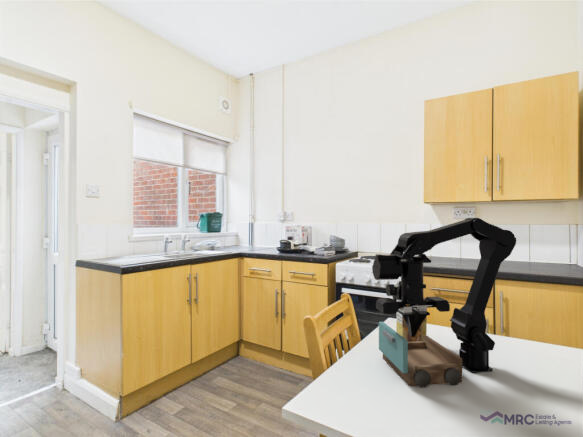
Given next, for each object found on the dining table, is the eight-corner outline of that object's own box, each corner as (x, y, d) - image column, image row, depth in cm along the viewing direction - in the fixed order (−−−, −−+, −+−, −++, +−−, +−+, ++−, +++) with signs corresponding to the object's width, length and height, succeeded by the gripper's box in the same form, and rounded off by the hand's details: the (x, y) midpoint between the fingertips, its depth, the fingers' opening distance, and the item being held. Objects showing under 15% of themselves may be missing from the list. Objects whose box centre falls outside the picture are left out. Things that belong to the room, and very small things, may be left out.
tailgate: (382, 348, 93) (382, 321, 93) (407, 373, 78) (407, 340, 78) (376, 349, 93) (376, 321, 93) (400, 373, 78) (399, 340, 78)
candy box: (419, 340, 108) (419, 295, 108) (427, 345, 104) (427, 298, 104) (395, 342, 106) (395, 296, 106) (403, 347, 102) (402, 299, 102)
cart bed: (425, 354, 96) (425, 334, 97) (465, 384, 79) (464, 360, 79) (381, 356, 95) (381, 336, 95) (411, 388, 77) (411, 363, 77)
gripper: (427, 273, 96) (428, 325, 96) (368, 275, 93) (368, 328, 93) (450, 280, 85) (451, 338, 85) (384, 282, 82) (384, 342, 82)
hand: (412, 336), depth 87 cm, fingers closed
